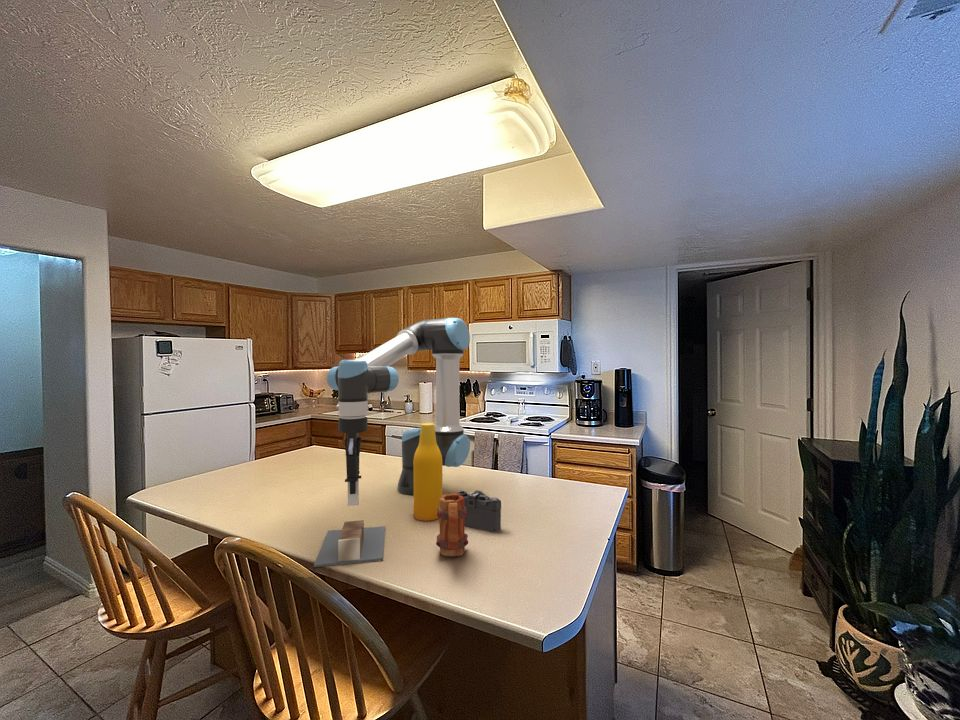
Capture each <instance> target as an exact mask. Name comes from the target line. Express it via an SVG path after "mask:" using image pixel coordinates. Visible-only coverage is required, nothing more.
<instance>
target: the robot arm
mask: <svg viewBox="0 0 960 720" xmlns="http://www.w3.org/2000/svg"><path fill="white" fill-rule="evenodd" d="M470 342H471V336H470V330H469V328H468V326H467V324H466V322H465V321H464V320H463V319H461V318H459V317H441V318H428V319H422V320H420V321H417V322H415V323H412V324H411V325H409V326H406V327H405V328H403V329H402V330H400V331H398V332H397V334H396V336H395V337H393V338H391V339H389V340H388V341H386V342H384V343H383V344H381V345H379V346H377V347H376V348H374V349H372V350H371V351H369V352H367V353H365V354H363V355H362V356H360V357H358V358H356V359H342V360H340V361H339V363H338V366H333V367H331V368H330V369H329V371H328V372H327V375H326V383H327V384H328V386H329V387H330V389H332V390H335V391H338V392H337V393H338V394H337V395H338V397H337V398H338V401H337V402H338V404H336V405H335V407H336V408H335V409H338V416H339V419H338V420H337V421H338V422H337V423H338V424H337V425H338V427H337V428H338V429H337V430H338V432H339V433H341V434H347V437H346V438H345V439H344V447H345V448H344V450H345V461H346V463H345V465H346V466H345V467H346V479H344V483H347V506H348V507H351V506H359V504H360V497H359V496H360V489H359V488H360V479H362V475H360V453H361V443H362V437H360V436H359V435H360V434H359V433H364V432H366V431H367V430H368V427H369V426H368V425H369V424H368V423H369V421H368V417H366V416H367V415H368V414H369V413H368V412H369V411H368V410H369V409H368V408H369V404H368V403H369V401H368V394H374V393H388V392H391V391H394V390H395V389H396V388H397V387H398V384H399V382H400V379H399V378H400V377H399V372H398V371H397V370H396V368H394V367H392V365H394V364H395V363H396V362H398V361H399V360H401V359H402V358H404V357H405V356H407V355H413V354H415V353H417V352H421V351H431V356H433V357H434V359H435V424H434V426H435V435H436V442H437V445H438V447H439V450H440V452H441V455H442V467H447V468H451V467H452V468H453V467H454V468H457V467H461V466H462V465H463V464H464V463H465V462H466V460H467V458H468V456H469V453H470V449H471V440H470V438H469V436H468V435H466V434H465V433H464V430H465V429H464V427H463V426H462V425H461V424H460V360H461V358H462V357H463V356H464V351H465V350H467V349H468V348H469V346H470V345H469V344H470ZM420 430H421V427H416V428H410V429H406V430H405V431H403V432H402V436H401V440H402V441H401V463H402V464H401V465H402V469H401V473H400V475H399V479H398V482H397V491H398V493H400V494H404V495H408V496H409V495H410V496H414V474H413V460H414V454H415V452H416V449H417V447H418V445H419V440H420Z"/></svg>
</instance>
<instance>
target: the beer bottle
mask: <svg viewBox="0 0 960 720" xmlns="http://www.w3.org/2000/svg"><path fill="white" fill-rule="evenodd" d="M420 428H421V430H420V440H419V445H418V447H417V449H416V452H415V454H414V460H413V474H414V495H413V509H412V510H413V512H412V513H413V516H414V519H416V520H417V521H421V522H422V521H425V522H426V521H428V522H430V521H434V520H439V517H438V516H437V513H438V511H437V508H438V507H439V502H440V498H441V497H442V495H444V494H443V465H442V455H441V452H440V450H439V447H438V445H437V442H436V435H435V423H431V422H428V423H426V422H425V423H421V425H420Z"/></svg>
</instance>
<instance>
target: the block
mask: <svg viewBox="0 0 960 720" xmlns="http://www.w3.org/2000/svg"><path fill="white" fill-rule="evenodd" d="M364 528H365V520H363V519H362V520H361V519H360V520H351V521H350V520H349V521H344V523H343V525H342V529H341V530H342V531H341V534H340V537H339V540H338V562H339V561H349V560H359V559H360V556H361V551H362V546H363V541H364Z"/></svg>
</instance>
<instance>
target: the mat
mask: <svg viewBox="0 0 960 720" xmlns="http://www.w3.org/2000/svg"><path fill="white" fill-rule="evenodd" d="M341 531H342V529H332V530H327V532H326V535H325V536H324V539H323V542H322V544H321V546H320V549H319V550H318V553H317V556H316V559H315V561H314V563H313V568H321V567H329V566H331V567H332V566H343V565H349V564H350V565H351V564H361V563H362V564H363V563H370V562H372V563H373V562H382V561H383V560H384V551H385V539H386V536H385V535H386V525H380V526H370V527H368V526H367V527H364V541H363V546H362V551H361V556H360V559H359V560H349V561H339V562H338V540H339V537H340V534H341Z"/></svg>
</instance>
